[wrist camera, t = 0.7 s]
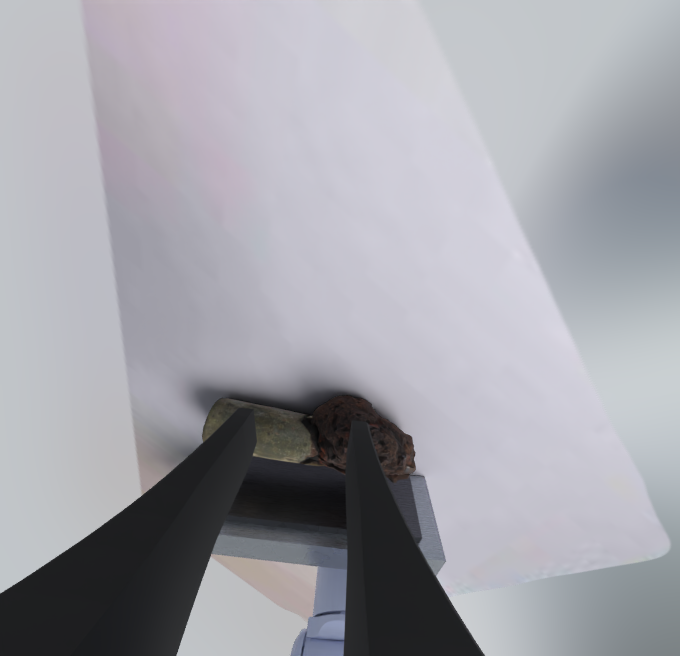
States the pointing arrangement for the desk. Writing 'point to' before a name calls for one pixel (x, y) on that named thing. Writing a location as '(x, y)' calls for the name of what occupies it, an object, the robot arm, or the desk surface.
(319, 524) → the grey metal tray
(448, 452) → the desk surface
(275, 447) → the corroded crusty cylinder
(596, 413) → the desk surface
